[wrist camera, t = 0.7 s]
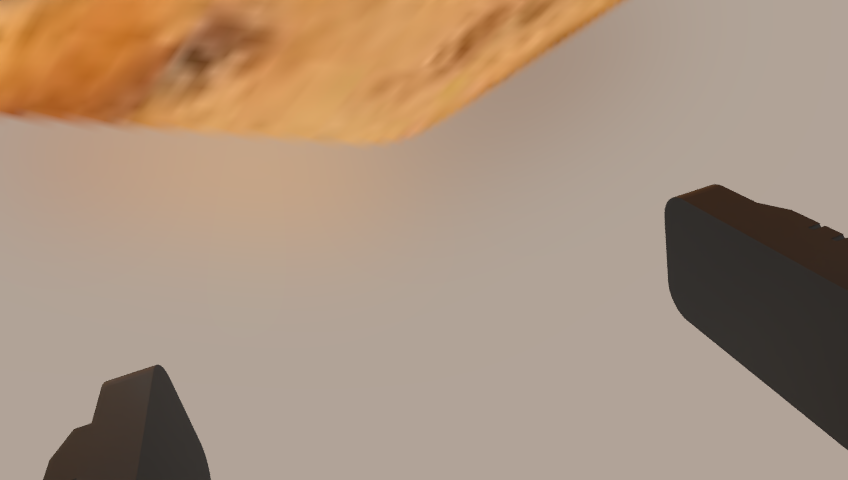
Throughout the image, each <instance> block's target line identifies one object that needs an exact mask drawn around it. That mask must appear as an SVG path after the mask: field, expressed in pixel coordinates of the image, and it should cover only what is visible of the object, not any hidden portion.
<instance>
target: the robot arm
mask: <svg viewBox="0 0 848 480" xmlns="http://www.w3.org/2000/svg"><path fill="white" fill-rule="evenodd" d="M665 233H666V250H667V267H668V283H669V289H670V293H671V296H672V299H673V301H674V303H675V305H676V307H677V309H678V310H679V312H680V313H681V314H682V316H683V317H684V318H685V319H686V320H687V321H689V322H690V323H691V324H692V325H694V326H695V327H696V328H697V329H699V330H700V331H701V332H702V333H703V334H705V335H706V336H707V337H709V338H710V339H711V340H712V341H713V342H715V343H716V344H717V345H718V346H720V347H721V348H722V349H723V350H724V351H726V352H727V353H728V354H730V355H731V356H732V357H733V358H735V359H736V360H737V361H738V362H739V363H741V364H742V365H743V366H744V367H746V368H747V369H748V370H749V371H750V372H752V373H753V374H754V375H755V376H757V377H758V378H759V379H760V380H762V381H763V382H764V383H765V384H767V385H768V386H769V387H770V388H772V389H773V390H774V391H775V392H777V393H778V394H779V395H780V396H781V397H783V398H784V399H785V400H786V401H788V402H789V403H790V404H791V405H792V406H794V407H795V408H796V409H797V410H799V411H800V412H801V413H802V414H804V415H805V416H806V417H807V418H809V419H810V420H811V421H812V422H814V423H815V424H816V425H817V426H818V427H820V428H821V429H822V430H823V431H825V432H826V433H827V434H828V435H830V436H831V437H832V438H833V439H835V440H836V441H837V442H838V443H839V444H841V445H842V446H843V447H845V448H846V449H847V450H848V238H844V236H843V234H842V233H839V232H837V231H835V230H833V229H831V228H829V227H827V226H824V227H821V226H820V223H818V222H816V221H814V220H812V219H809V218H807V217H805V216H803V215H801V214H799V213H797V212H794V211H792V210H788V209H784V208H779V207H774V206H770V205H765V204H760V203H756V202H754V201H752V200H750V199H748V198H746V197H744V196H742V195H740V194H738V193H736V192H734V191H732V190H729V189H727V188H725V187H723V186H721V185H716V184H715V185H710V186H707V187H704V188H701V189H698V190H695V191H692V192H689V193H686V194H683V195H679V196H677V197H673V198H671V199H670V200H669V201H668V202H667V204H666V207H665ZM43 480H211V479H210V472H209V468H208V463H207V460H206V456H205V453H204V450H203V448H202V445H201V443H200V441H199V439H198V437H197V435H196V432H195V431H194V428H193V426H192V424H191V422H190V420H189V418H188V416H187V413H186V411H185V409H184V407H183V405H182V403H181V401H180V399H179V397H178V395H177V392H176V390H175V388H174V386H173V384H172V382H171V380H170V378H169V376H168V374H167V373H166V371H165V370H164V368H163V367H162V366H160V365H155V366H152V367H149V368H146V369H143V370H140V371H136V372H133V373H130V374H127V375H124V376H121V377H118V378H115V379H112V380H109V381H106V382H104V384H103V385H102V388H101V391H100V395H99V398H98V402H97V406H96V410H95V413H94V417H93V421H92V423H91V424H88V425H85V426H82V427H79V428H76V429H74V430H73V431H72V432H71V434H70V435H69V436H68V437H67V439H66V440H65V441H64V443H63V444H62V445H61V446H60V448H59V449H58V450H57V451H56V453H55V454H54V455H53V457H52V458H51V459H50V461H49V464H48V467H47V470H46V473H45V476H44V479H43Z"/></svg>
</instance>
